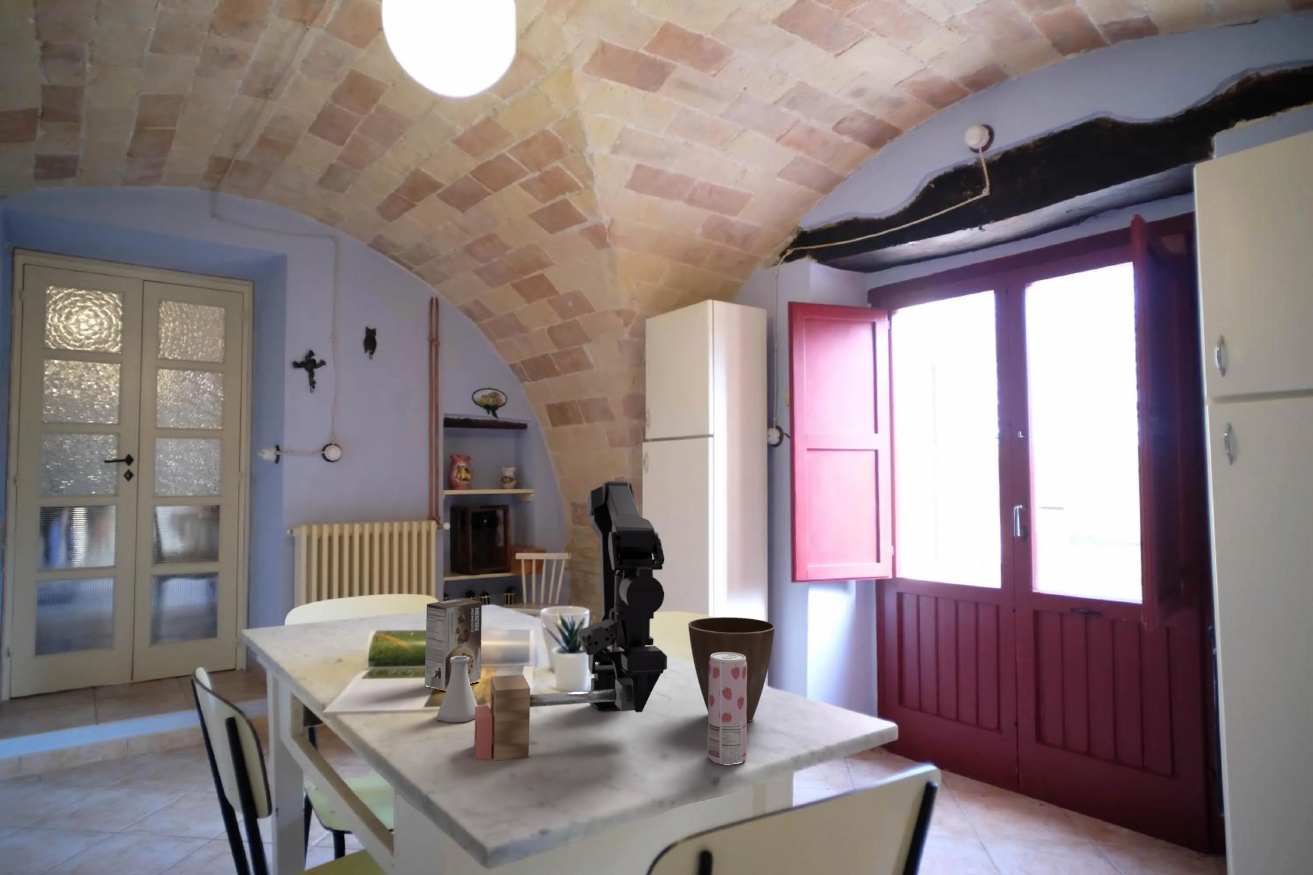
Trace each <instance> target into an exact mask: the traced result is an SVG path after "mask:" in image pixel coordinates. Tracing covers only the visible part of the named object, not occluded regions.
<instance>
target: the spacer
mask: <svg viewBox="0 0 1313 875" xmlns="http://www.w3.org/2000/svg"><path fill="white" fill-rule="evenodd" d="M473 743H474V745H473V746H474V751H475V756H476V757H475V758H476V760H478V761H479V760H488V759H489V760H491V759H492V751H491V746H492V715H491V711H490V704H489V705H488V704H487V705H478V706H475V719H474V742H473Z"/></svg>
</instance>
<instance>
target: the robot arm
mask: <svg viewBox="0 0 1313 875" xmlns="http://www.w3.org/2000/svg"><path fill="white" fill-rule="evenodd" d="M632 486H633V485H632V483H631V482H628V481H627V480H625V481H624V480H622V481H621V480H607V481H606V482H603V483H602V485H601V486H599V487H597V488H595V489H593V490H590V492H589V495H588V497H587V506H586V509H587V510H586V511H587V515H588V516H589V517H590V526H591V527H590V528H591V529H592V530H593V532H594V534H596V536H597V538H598V539H599V560H600V561H599V563H600V565H599V566H600V592H601V598H600V599H601V618H600V620H599V621H598V622H596V623H593V624H591V625H589V626H586V627H584V628H582V629H579V630H578V631H577V632H576V634H577V636H578V639H579V641H580V645H581V648H582V651H583V652H585V654H586V655H587V658H588V659H587V663H588V670H589V672H590V674H591V675H593V677H591V678H590V691H592V690H607V689H615V679H617V678H630V680H631V687H632V695H633V703H634V709H635V710H634V712H635V713H642V712H643V711H644V709H645V707H646V705H647V703H648V701H649V698H650V695H651V694H652V692H653V690H654V688H655V686H656V684H657V682H658V680H659V678H660V676H661V675H662V674H664V671H666V670H667V669H668V655H666V653H665V652H663V651H662V650H661V649H660V648H659V647H658V646H656V645H654V638H653V637H652V636H650V635H651V620H653V619H655V618H654V617H655V612H656V613H657V611H658V610H659V609H660V608H661V607H662V605H663V602H664V601H665V600H664V599H665V591H664V587H663V585H662V584H661V582H660V581H659V580H658V579H657V578H655V577H654V574H653V573H654V571H662V570H663V565H664V563H665V554H664V551H663V550H664V549H663V545H662V540H661V538H660V536H659V533H658V532H657V531H655V528H654V526H653V524H652V523H651V521H650V520H649V519H646V518H644V517H641V516H640V514H639V510H638V507H637V505H636V503H635V502H636V501H635V491H634V490H633V487H632ZM596 663H597V664H596ZM592 705H593V706H594V707H595V708H596V709H597V710H598V711H602V712H603V711H613V710H614V711H616V710H620V709H619V708H618V707H617V706H616V705H615V701H608V702H594V703H592Z"/></svg>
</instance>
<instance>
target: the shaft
mask: <svg viewBox="0 0 1313 875" xmlns="http://www.w3.org/2000/svg"><path fill="white" fill-rule="evenodd" d="M608 701H615V705H616V706H617V707H618V708H619V709H618V710H620V712H629V711H635V709H634V703H633V695H632V687H631V680H630V678H617V679H615V689H607V690H592V691H591V690H579V691H566V692H565V691H563V692H551V693H549V692H547V693H537V694H535V693H534V694H533V693H532V694H530V708H537V707H551V706H553V707H554V706H562V705H563V706H564V705H565V706H566V705H580V704H593V703H594V702H608Z"/></svg>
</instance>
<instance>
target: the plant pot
mask: <svg viewBox="0 0 1313 875" xmlns="http://www.w3.org/2000/svg"><path fill="white" fill-rule="evenodd" d="M687 625H688V633H689V635H688V636H689V642H690V648H691V655H692V659H693V660H692V661H693V663H694V664H693V665H694V669H695V674H696V676H697V677H696V678H697V681H698V685H699V689H700V692H701V695H702V699H703V702H704V704H705V707H706V710H707V712H708V694H709V661H710V656H711V654H714V653H719V652H733V653H739V654H742V655H744V656H745V657H746V663H747V723H749V722H748V721H750V720H751V721H752V720H754V716H755V714H756V711H757V708H758V705H759V702H760V699H761V696H762V693H763V689H764V686H765V683H766V679H767V674H768V670H769V666H770V661H771V655H772V650H773V642H774V635H775V627H776V626H775V624H774V623H771V622H769V621H766V620H761V619H757V618H750V617H736V616H735V617H734V616H733V617H732V616H731V617H727V616H726V617H725V616H722V617H706V618H699V619H694V620H692V621H689V622H688V624H687ZM751 721H750V722H751Z"/></svg>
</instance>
